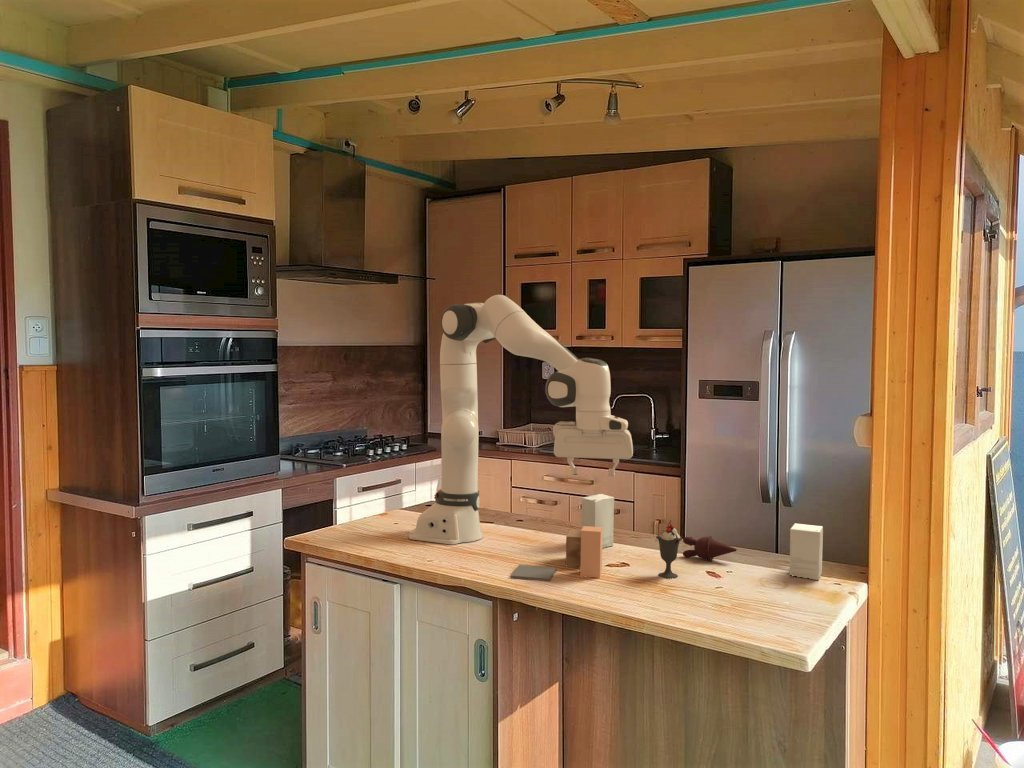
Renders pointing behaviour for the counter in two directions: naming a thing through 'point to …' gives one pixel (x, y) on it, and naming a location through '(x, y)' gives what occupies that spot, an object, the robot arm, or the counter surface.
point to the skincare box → (599, 515)
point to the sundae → (669, 549)
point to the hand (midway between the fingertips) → (593, 475)
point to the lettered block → (573, 548)
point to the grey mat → (533, 572)
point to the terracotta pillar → (591, 551)
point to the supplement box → (806, 551)
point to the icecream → (706, 548)
